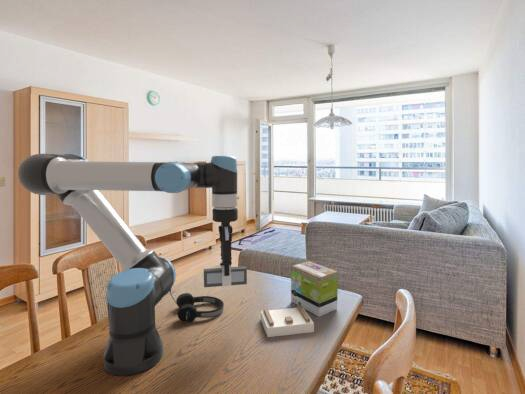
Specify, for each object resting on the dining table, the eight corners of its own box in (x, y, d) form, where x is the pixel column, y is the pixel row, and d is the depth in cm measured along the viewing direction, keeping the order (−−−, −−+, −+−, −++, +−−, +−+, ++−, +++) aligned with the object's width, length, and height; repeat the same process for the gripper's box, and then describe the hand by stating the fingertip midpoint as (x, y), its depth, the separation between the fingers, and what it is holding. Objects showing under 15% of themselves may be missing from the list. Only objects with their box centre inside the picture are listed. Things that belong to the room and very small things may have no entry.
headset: (167, 281, 113) (221, 281, 119) (165, 306, 114) (219, 305, 120) (168, 296, 100) (228, 295, 107) (166, 324, 101) (225, 321, 107)
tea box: (290, 302, 118) (290, 265, 117) (308, 295, 124) (309, 260, 123) (319, 318, 106) (319, 276, 105) (338, 309, 112) (339, 270, 111)
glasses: (203, 274, 103) (203, 260, 103) (242, 272, 106) (242, 257, 105) (204, 287, 92) (203, 271, 92) (246, 284, 95) (246, 268, 94)
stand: (260, 319, 105) (260, 308, 105) (302, 315, 108) (302, 304, 108) (267, 337, 94) (267, 324, 94) (313, 332, 97) (314, 319, 97)
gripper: (240, 211, 85) (241, 292, 88) (234, 204, 101) (235, 273, 103) (213, 212, 84) (215, 294, 87) (211, 204, 99) (213, 275, 102)
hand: (226, 283), depth 95 cm, fingers closed on glasses, 2 cm apart
